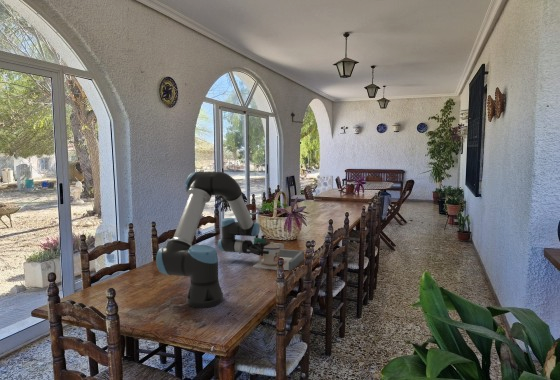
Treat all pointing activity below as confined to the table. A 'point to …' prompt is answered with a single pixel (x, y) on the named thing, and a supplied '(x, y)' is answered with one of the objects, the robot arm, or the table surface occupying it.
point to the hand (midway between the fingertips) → (279, 249)
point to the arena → (290, 260)
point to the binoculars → (259, 239)
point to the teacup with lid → (272, 258)
